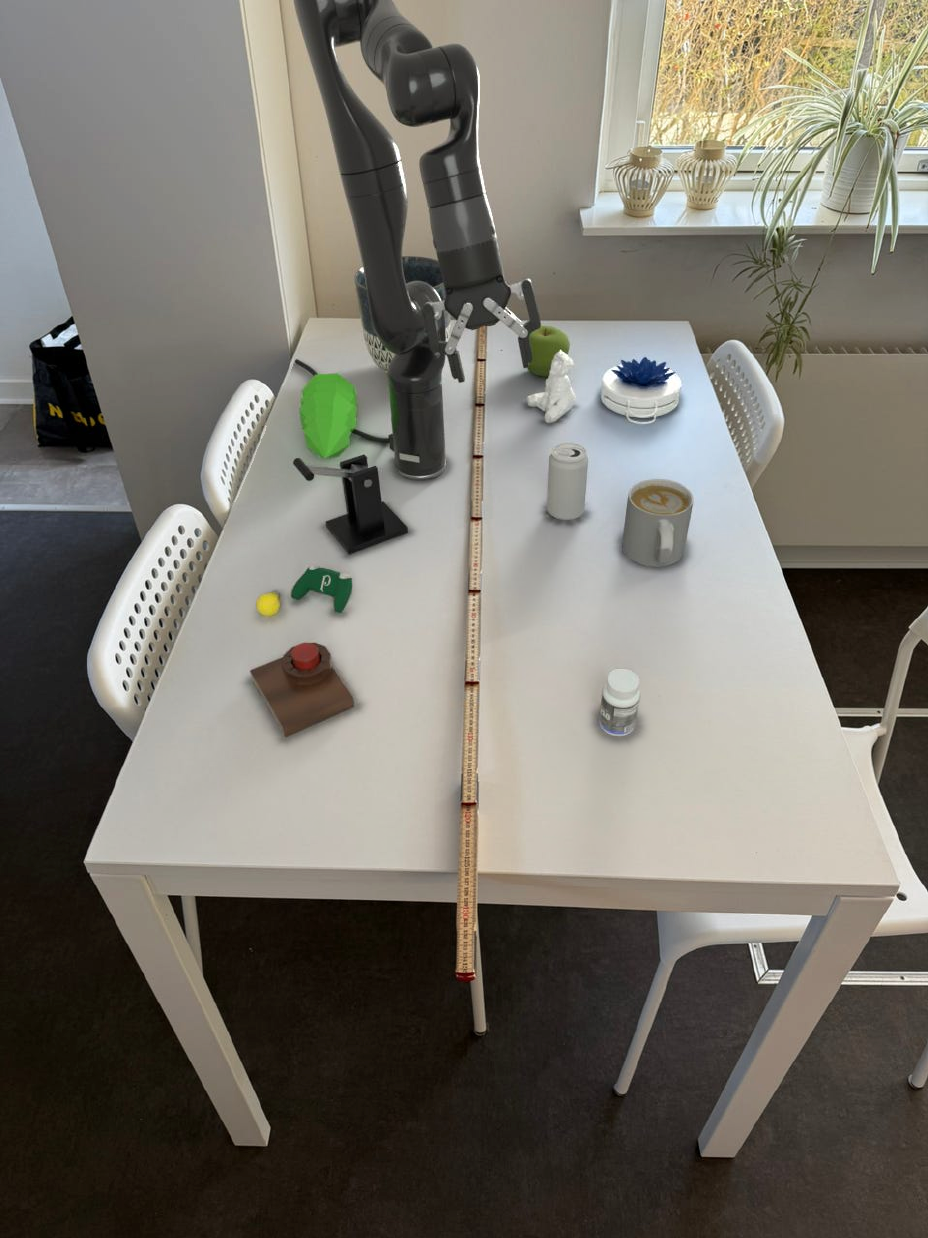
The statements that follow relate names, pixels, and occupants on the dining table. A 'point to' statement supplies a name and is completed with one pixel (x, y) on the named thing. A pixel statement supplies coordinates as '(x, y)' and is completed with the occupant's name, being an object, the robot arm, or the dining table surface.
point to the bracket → (364, 511)
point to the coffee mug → (657, 522)
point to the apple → (546, 348)
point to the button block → (301, 691)
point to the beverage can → (567, 481)
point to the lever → (324, 470)
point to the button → (305, 656)
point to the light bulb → (268, 603)
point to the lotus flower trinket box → (641, 389)
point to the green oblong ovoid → (328, 414)
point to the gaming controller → (324, 585)
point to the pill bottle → (619, 702)
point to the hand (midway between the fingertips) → (493, 373)
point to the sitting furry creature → (556, 389)
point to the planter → (413, 271)
